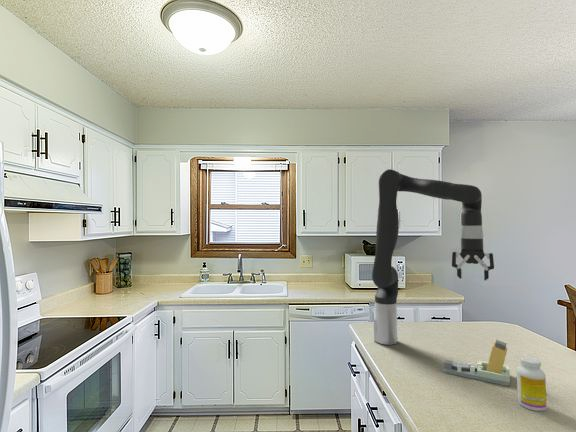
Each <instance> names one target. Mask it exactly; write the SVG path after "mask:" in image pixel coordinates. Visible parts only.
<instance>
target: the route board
mask: <svg viewBox="0 0 576 432" xmlns="http://www.w3.org/2000/svg"><path fill="white" fill-rule="evenodd" d="M488 362H489V361H484V360H482V361H481V360H478V362H477V363H476V364H472V363H470V362H467V363H466V362H461V361H457V360H450V359H444V360H443V371H444V373H445V374H450V375H454V376H455V375H456V376H460V377H464V378H469V379H473V380H479V381H484V382H488V383H493V384H498V385H502V386H506V387H511V375H510V373H511V372H510V370H511V369H510V366H509V365H505V364H503V368H502V372H501V374H499V373H494V372H489V371H486V370H487V366H488Z"/></svg>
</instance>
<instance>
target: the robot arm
mask: <svg viewBox="0 0 576 432" xmlns="http://www.w3.org/2000/svg"><path fill="white" fill-rule="evenodd" d="M398 192H406V193H415V194H419V195H423V196H427V197H430V198H431V197H432V198H435V199H440V200H452V201H456V202H459V203H461V205H462V208H461V209H462V211H461V217H460V218H461V226H460V227H461V228H460V246H461V247H460V249H461V250H460V251H459V252H458V251H457V252H456V250H455V251H453V252H452V253H451V254H452V255H451V267H453V268H455V269H456V276H457V277H458V278H459V279H462V277H463V276H462V273H463V271H462V267H463V265H465V263H466V264H469V265H470V264H474V265H477V264H479V265H480V266H481V267H482V268H483V269H484V270H483V272H484V273H483V274H484V275H483V276H484V278H483V279H484V281H487V280H489V279H490V278H489V274H490V273H489V271H490V270H494V268H495V263H494V261H495V259H494V253H493V252H488V253H487V252H486V253H485V251H484V230H483V217H482V216H483V215H482V201H483V199H482V198H483V197H482V196H483V195H482V192H481V190H480V188H478V186H475V185H471V184H465V183H464V184H462V183H454V182H449V181H444V180H437V179H429V178H428V179H425V178H417V177H412V176H409V175H405V174H402V173H400V172H399V171H396V170H394V169H385V170H383V171H382V172H381V174H380V175H379V176H378V197H379V199H378V200H379V201H378V209H377V222H376V234H375V235H376V236H375V237H376V238H375V255H374V261H373V267H372V274H371V278H372V279H371V280H372V282H373V284H374V285H375V286H376V287H377V290H376V293H375V295H374V315H375V316H374V319H373V341H374V342H376V343H378V344H381V345H385V346H386V345H387V346H389V345H390V346H393V345H396V344H398V338H399V337H398V309H397V308H398V307H397V304H398V303H397V299H398V297H399V296H398V295H399V275H398V270H397V269H396V268H395V267H394V266H392V263H393V262H392V261H393V254H394V250H395V248H396V245H397V242H398V239H399V238H398V237H399V231H400V230H399V229H400V228H399V227H400V224H399V223H400V219H399V218H400V217H399V212H398V207H397V199H398V198H397V197H398ZM459 256H460V258H462V260H461V261H460V263H458V264H457V258H459ZM485 257H486V258H487V259H488V260H489V265H487V264H486V263H485V262H484V260H483V259H484V258H485Z"/></svg>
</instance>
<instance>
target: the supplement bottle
mask: <svg viewBox="0 0 576 432" xmlns="http://www.w3.org/2000/svg"><path fill="white" fill-rule="evenodd" d="M520 364H521V365H519V366H517V368H516V388H517V390H516V391H517V392H516V394H517V402H518V403H519V405H520V406H521V407H523V408H525V409H527V410H531V411H536V412H543V411H545V410H547V407H548V406H547V404H548V403H547V386H546V385H547V384H546V383H547V381H546V380H547V378H546V374H545V372H544V371H543V370H542V369H541V367H542V365H541V364H542V362H541V360H540V359H538V358H535V357H531V356H521V357H520Z"/></svg>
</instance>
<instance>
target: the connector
mask: <svg viewBox="0 0 576 432" xmlns="http://www.w3.org/2000/svg"><path fill="white" fill-rule="evenodd" d="M507 353H508V347H507V343H506V342H503V341H501V340H498V339H496V340H495V342H493V343H492V347H491V352H490V356H489V359H488V361H487V362H488V366H487V370H486V371H489V372H494V373H499V374H501V372H502V368H503V365H505V360H506V356H507Z"/></svg>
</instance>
